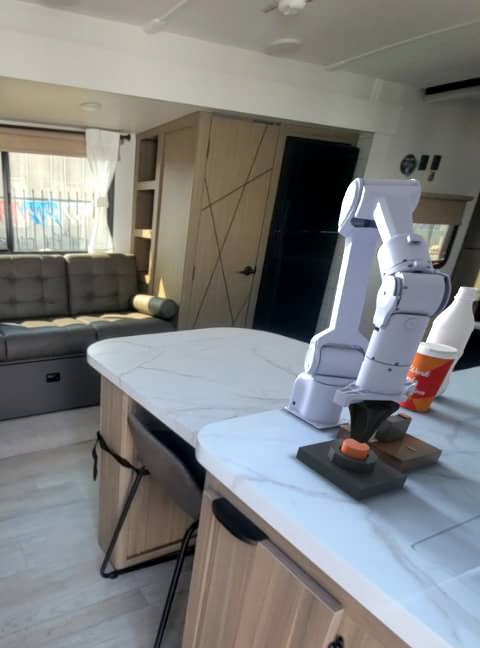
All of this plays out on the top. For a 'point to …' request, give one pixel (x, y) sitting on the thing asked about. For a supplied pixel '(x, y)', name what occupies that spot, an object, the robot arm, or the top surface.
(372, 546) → the top surface
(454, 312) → the water bottle
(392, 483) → the grey button base plate
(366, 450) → the orange push button
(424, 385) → the paper cup
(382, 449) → the panel
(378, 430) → the lock knob
